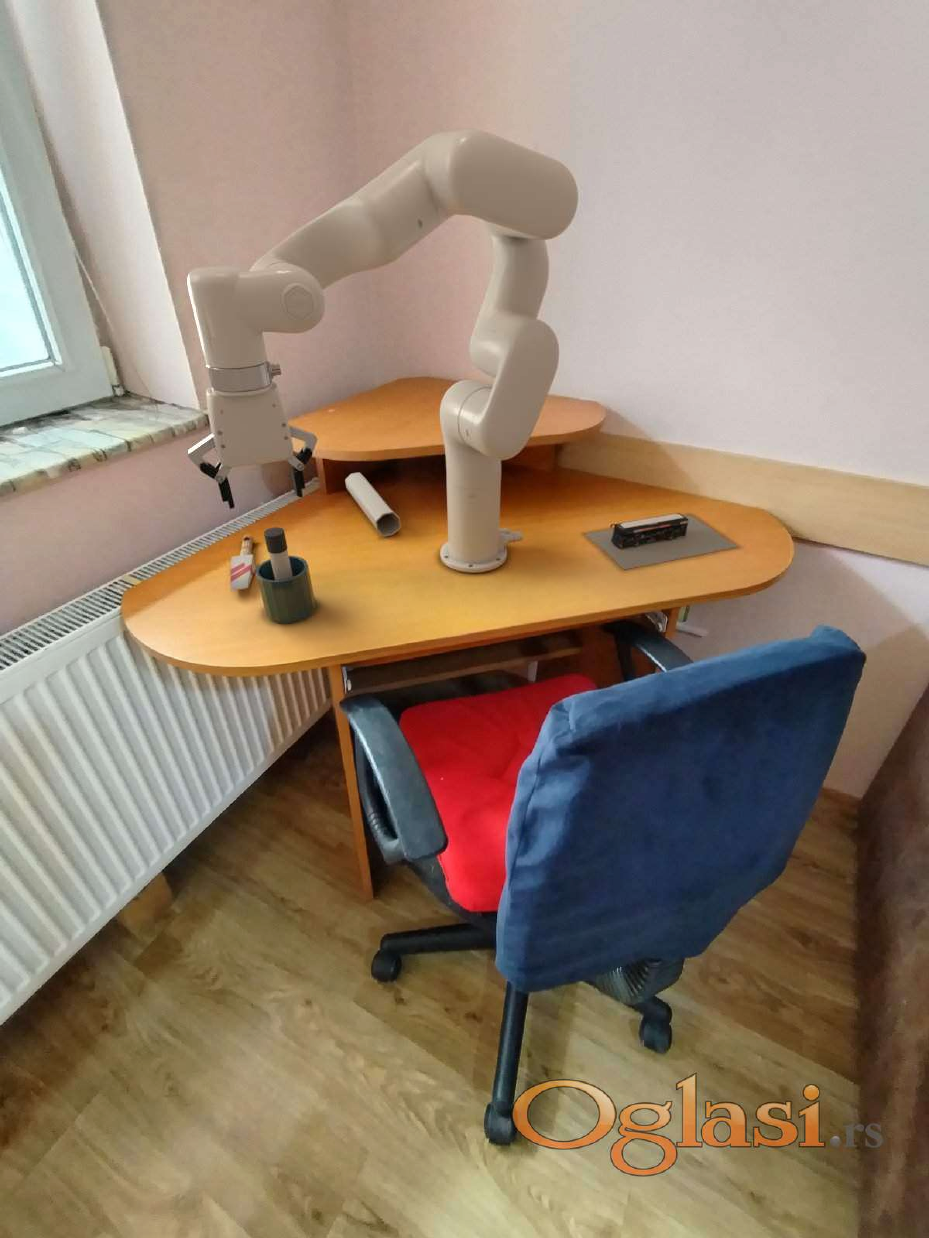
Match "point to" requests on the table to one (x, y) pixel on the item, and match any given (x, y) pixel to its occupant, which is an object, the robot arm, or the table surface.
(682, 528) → the gray base plate
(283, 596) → the pen holder
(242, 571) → the paintbrush
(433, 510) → the table surface
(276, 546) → the marker
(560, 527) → the table surface
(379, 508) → the tube
